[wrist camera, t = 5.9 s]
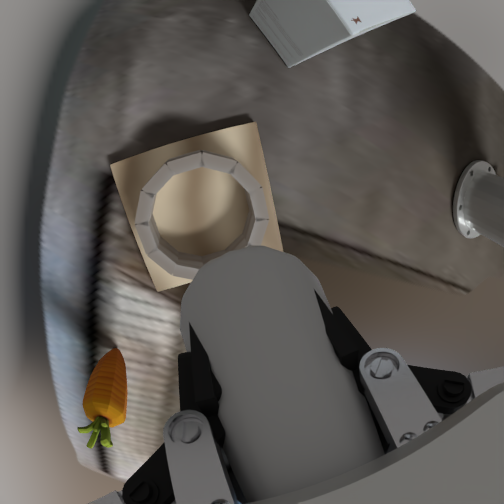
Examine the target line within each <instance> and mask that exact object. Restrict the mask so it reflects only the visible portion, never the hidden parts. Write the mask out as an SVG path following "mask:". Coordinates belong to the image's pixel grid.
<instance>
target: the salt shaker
mask: <svg viewBox="0 0 504 504" xmlns="http://www.w3.org/2000/svg"><path fill="white" fill-rule="evenodd" d="M314 289H315V291H316V292H317V293H318V295H319V296H320V297H321V299H322V300H323V302H324V303H325V304H326V306H327V307H328V308H329V310H330V311H331V312H332V310H331V308H330V305H329V303H328V301H327V298H326V296H325V294H324V291H323V289H322V286H321V284H320V282H319V280H318V278H317V277H316V276H315V275H314V274H313V273H312V272H311V271H310V270H309V269H308V268H307V267H306V266H305V265H304V264H303V263H302V262H301V261H300V260H299V259H298V258H296V257H295V256H293V255H291V254H288V253H285V252H282V251H279V250H276V249H272V248H269V247H266V246H248V247H245V248H242V249H239V250H233V251H229V252H227V253H225V254H224V255H222V256H220V257H217V258H215V259H212V260H210V261H209V262H207V263H206V264H205V265H204V266H202V267H201V268H200V269H199V271H198V272H197V274H196V275H195V277H194V279H193V280H192V282H191V284H190V285H189V287H188V289H187V290H186V292H185V294H184V296H183V299H182V303H181V320H180V331H181V334H182V338H183V341H184V344H185V347H186V350H187V352H189V351H190V352H191V347H190V332H189V322H190V324H191V326H192V327H193V329H194V331H195V333H196V335H197V336H198V338H199V340H200V342H201V344H202V345H203V347H204V349H205V351H206V352H207V354H208V357H209V362H210V367H211V370H212V372H213V374H214V375H215V377H216V379H217V380H218V382H219V384H220V386H221V388H222V395H221V398H220V400H219V401H218V403H219V411H218V417H219V419H220V421H221V423H222V425H223V427H224V429H225V441H224V446H223V450H224V452H225V454H226V457H227V459H228V461H229V464H230V466H231V468H232V470H233V473H234V475H235V477H236V479H237V481H238V483H239V485H240V488H241V490H242V492H243V494H244V496H245V498H246V500H247V502H248V503H251V502H256V501H260V500H264V499H268V498H272V497H276V496H280V495H283V494H287V493H290V492H293V491H297V490H300V489H303V488H306V487H309V486H312V485H315V484H318V483H321V482H323V481H326V480H329V479H331V478H334V477H336V476H339V475H341V474H344V473H346V472H349V471H351V470H353V469H356V468H358V467H360V466H362V465H365V464H367V463H369V462H371V461H373V460H375V459H377V458H379V457H381V456H383V455H385V453H384V450H383V447H382V444H381V441H380V438H379V435H378V432H377V429H376V426H375V423H374V421H373V418H372V415H371V412H370V409H369V406H368V403H367V401H366V398H365V396H364V395H362V394H361V393H360V392H359V391H358V388H357V384H356V381H355V378H354V375H353V371H351V370H348V369H347V368H345V367H344V366H342V365H341V363H340V361H339V359H338V357H337V356H336V354H335V352H334V349H333V345H332V344H331V341H330V340H329V338H328V336H327V334H326V330H325V325H324V321H323V318H322V315H321V311H320V308H319V305H318V301H317V298H316V295H315V292H314ZM332 314H333V313H332Z"/></svg>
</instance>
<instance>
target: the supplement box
mask: <svg viewBox="0 0 504 504" xmlns="http://www.w3.org/2000/svg"><path fill="white" fill-rule="evenodd" d="M414 12H416V9H415V8H414V7H413V5H412V3H411V2H410V0H257V1H256V3H255V5H254V7H253V8H252V10H251V12H250V14H249V16H250V17H251V18H252V20H253V21H254V22H255V24H256V25H257V26H258V27H259V29H260V30H261V31H262V33H263V34H264V35H265V36H266V38H267V39H268V40H269V42H270V43H271V44H272V46H273V47H274V48H275V50H276V51H277V53H278V54H279V55H280V57H281V58H282V59H283V61H284V62H285V64H286V65H287V67H288V68H290V67H292V66H294V65H296V64H298V63H300V62H302V61H305V60H307V59H309V58H311V57H313V56H315V55H317V54H320V53H322V52H324V51H326V50H328V49H330V48H332V47H334V46H336V45H338V44H340V43H343V42H345V41H347V40H349V39H352V38H354V37H356V36H359V35H361V34H363V33H365V32H368V31H370V30H373V29H375V28H377V27H380V26H382V25H385V24H387V23H389V22H392V21H394V20H397V19H399V18H402V17H404V16H407V15H409V14H412V13H414Z"/></svg>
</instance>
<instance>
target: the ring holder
mask: <svg viewBox="0 0 504 504" xmlns="http://www.w3.org/2000/svg"><path fill="white" fill-rule="evenodd" d="M110 167H111V170H112V173H113V176H114V179H115V182H116V185H117V188H118V191H119V194H120V197H121V200H122V203H123V206H124V209H125V212H126V214H127V217H128V220H129V223H130V225H131V228H132V231H133V233H134V236H135V239H136V241H137V244H138V246H139V249H140V251H141V254H142V256H143V259H144V261H145V264H146V266H147V268H148V271H149V273H150V276H151V278H152V280H153V283H154V285H155V287H156V289H157V292H159V291H162V290H166V289H169V288H173V287H176V286H180V285H183V284H187V283H190V282H192V280H193V279H194V277H195V275H196V274H197V272H198V271H199V269H200V268H201V267H202V266H204V265H205V264H206V263H207V262H209V261H210V260H212V259H215V258H217V257H220V256H222V255H224V254H225V253H227V252H229V251H233V250H239V249H242V248H245V247H248V246H266V247H269V248H272V249H276V250H279V251H282V252H283V248H282V243H281V238H280V232H279V227H278V222H277V217H276V212H275V207H274V202H273V198H272V193H271V188H270V183H269V178H268V174H267V169H266V164H265V160H264V155H263V151H262V146H261V142H260V137H259V133H258V128H257V124H256V122H251V123H247V124H242V125H238V126H234V127H229V128H225V129H221V130H217V131H213V132H210V133H206V134H202V135H198V136H195V137H191V138H188V139H184V140H181V141H178V142H174V143H171V144H168V145H165V146H161V147H158V148H155V149H152V150H149V151H146V152H143V153H140V154H138V155H135V156H132V157H129V158H126V159H124V160H121V161H118V162H116V163H113V164H111V165H110Z"/></svg>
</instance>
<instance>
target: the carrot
mask: <svg viewBox="0 0 504 504" xmlns="http://www.w3.org/2000/svg"><path fill="white" fill-rule="evenodd" d="M83 408H84V411H85V414H86V416H87V418H89V419H90V420H92V421H93V422H92V423H91V424H90V425H88V426H86V427H77V428H78V431H79V432H80V433H89V432H90V431H92V430H94V431H93V433H92V435H91V437H90V439H89V441H88V443H87V447H88V448H93V446H94V444H95V442H96V439H97V436H98V434H99V431H100V429H101V434H102V435H101V443H102V445H103V446H106V447H112V446H113V444H112V442H111V435H110V429H109V427H114V426H117V425H119V424H122V423H124V421H125V419H126V408H127V378H126V367H125V362H124V358H123V356H122V354H121V352H120V350H118V349H117V348H113V349H112V350H111V351H109V352H108V353H106V354H105V355H104V356H103V357H102V358H101V359H100V360H99V362H98V364H97V365H96V367H95V369H94V370H93V372H92V374H91V376H90V379H89V382H88V385H87V388H86V391H85V395H84V399H83Z"/></svg>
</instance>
